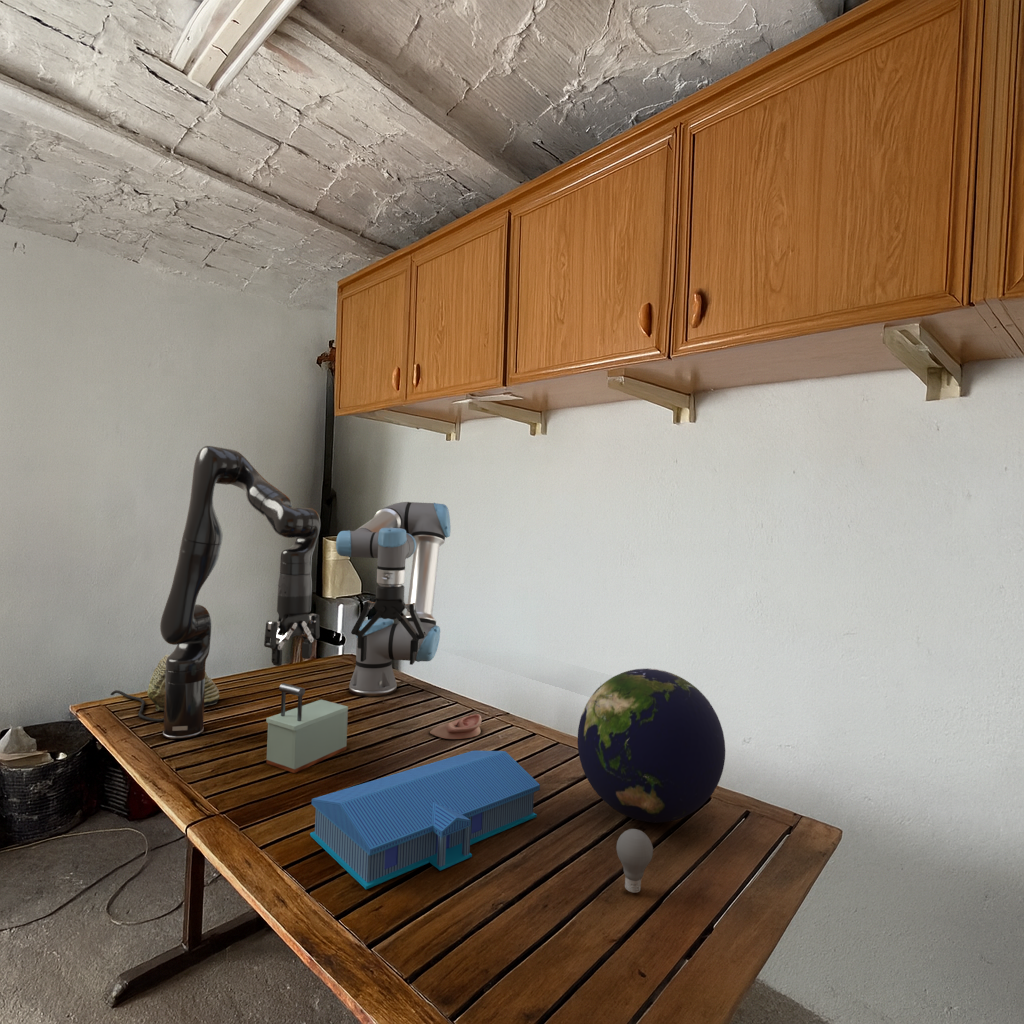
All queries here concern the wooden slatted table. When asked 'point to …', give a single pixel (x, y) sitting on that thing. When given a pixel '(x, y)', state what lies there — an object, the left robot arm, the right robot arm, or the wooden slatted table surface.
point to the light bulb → (634, 857)
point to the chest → (306, 743)
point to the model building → (423, 815)
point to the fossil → (158, 687)
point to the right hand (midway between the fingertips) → (387, 662)
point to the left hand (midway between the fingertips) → (292, 661)
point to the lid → (303, 710)
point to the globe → (651, 745)
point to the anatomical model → (459, 728)
